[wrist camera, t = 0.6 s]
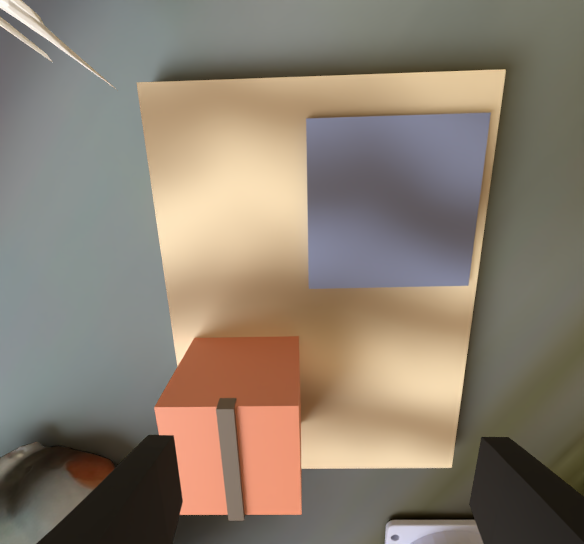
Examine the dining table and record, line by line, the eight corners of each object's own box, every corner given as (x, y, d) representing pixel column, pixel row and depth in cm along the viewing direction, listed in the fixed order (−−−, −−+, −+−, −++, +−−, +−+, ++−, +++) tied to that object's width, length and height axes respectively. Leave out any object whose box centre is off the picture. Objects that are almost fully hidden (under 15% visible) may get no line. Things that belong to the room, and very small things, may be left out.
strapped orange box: (301, 423, 19) (301, 520, 14) (204, 424, 19) (171, 521, 14) (298, 335, 17) (298, 408, 12) (194, 336, 17) (151, 409, 12)
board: (443, 450, 21) (473, 513, 17) (198, 452, 21) (177, 514, 17) (489, 76, 15) (552, 50, 11) (148, 88, 15) (101, 67, 11)
